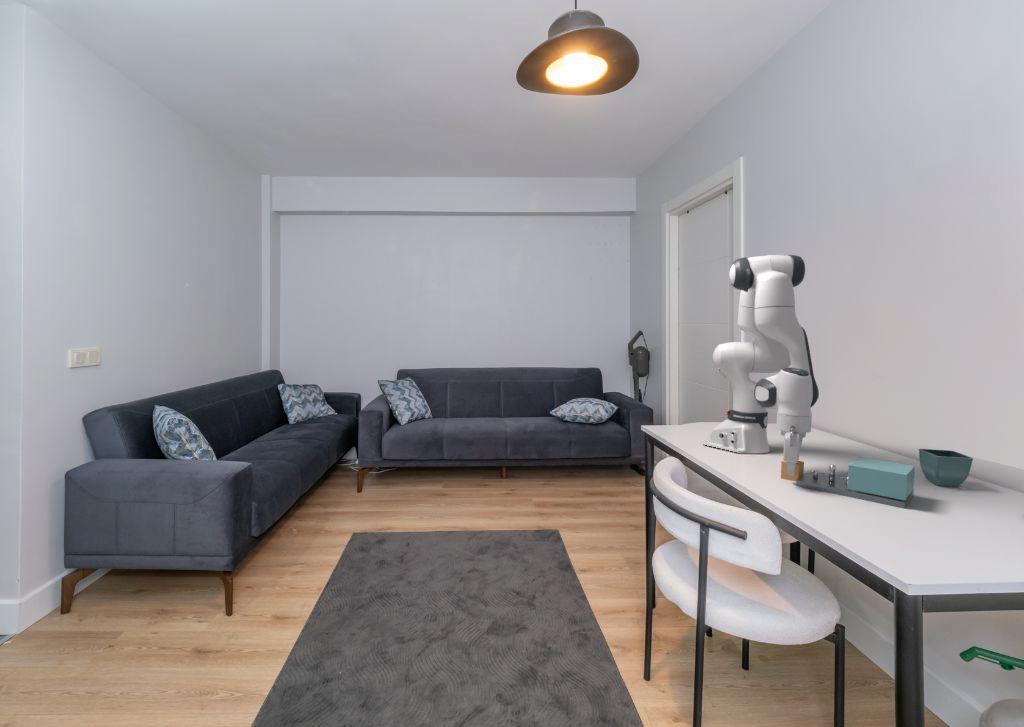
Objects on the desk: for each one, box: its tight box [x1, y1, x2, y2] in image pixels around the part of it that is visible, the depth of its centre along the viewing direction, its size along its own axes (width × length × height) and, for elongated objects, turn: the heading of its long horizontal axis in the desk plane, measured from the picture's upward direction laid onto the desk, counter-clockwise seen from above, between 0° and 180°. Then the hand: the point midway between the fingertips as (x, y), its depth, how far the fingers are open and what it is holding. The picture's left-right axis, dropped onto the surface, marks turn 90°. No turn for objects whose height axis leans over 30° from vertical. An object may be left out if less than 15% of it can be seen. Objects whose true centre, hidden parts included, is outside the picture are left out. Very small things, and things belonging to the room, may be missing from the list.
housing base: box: [795, 463, 915, 509], centre depth 134 cm, size 24×13×6 cm, turn 43°
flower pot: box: [918, 448, 974, 488], centre depth 140 cm, size 9×9×9 cm
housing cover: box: [847, 456, 916, 500], centre depth 129 cm, size 12×12×6 cm
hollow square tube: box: [780, 460, 805, 482], centre depth 145 cm, size 5×5×5 cm
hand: (791, 471), depth 144 cm, fingers open, 8 cm apart
